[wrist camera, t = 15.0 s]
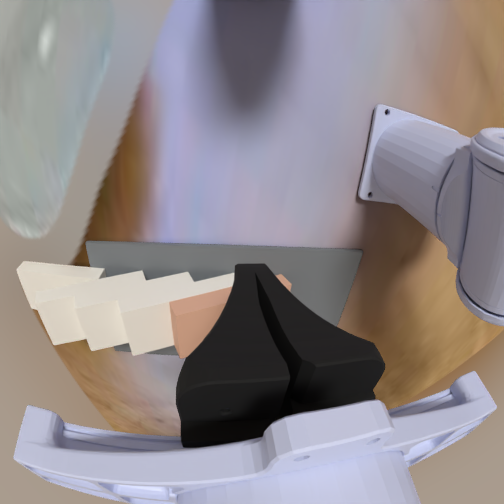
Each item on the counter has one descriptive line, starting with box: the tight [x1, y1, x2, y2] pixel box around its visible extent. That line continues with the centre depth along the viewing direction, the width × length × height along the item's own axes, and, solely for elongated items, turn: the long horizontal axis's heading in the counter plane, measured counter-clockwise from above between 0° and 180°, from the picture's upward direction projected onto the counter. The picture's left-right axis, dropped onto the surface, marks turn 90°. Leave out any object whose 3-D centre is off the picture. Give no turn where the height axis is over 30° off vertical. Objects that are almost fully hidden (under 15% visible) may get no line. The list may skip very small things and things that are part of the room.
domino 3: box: [74, 272, 194, 351], centre depth 23 cm, size 2×5×10 cm
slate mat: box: [86, 241, 363, 355], centre depth 27 cm, size 24×14×1 cm, turn 85°
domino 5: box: [169, 274, 292, 359], centre depth 24 cm, size 2×5×10 cm
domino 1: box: [17, 261, 106, 310], centre depth 24 cm, size 2×5×10 cm
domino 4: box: [117, 273, 234, 356], centre depth 23 cm, size 2×5×10 cm
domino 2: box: [35, 270, 146, 345], centre depth 22 cm, size 2×5×10 cm
